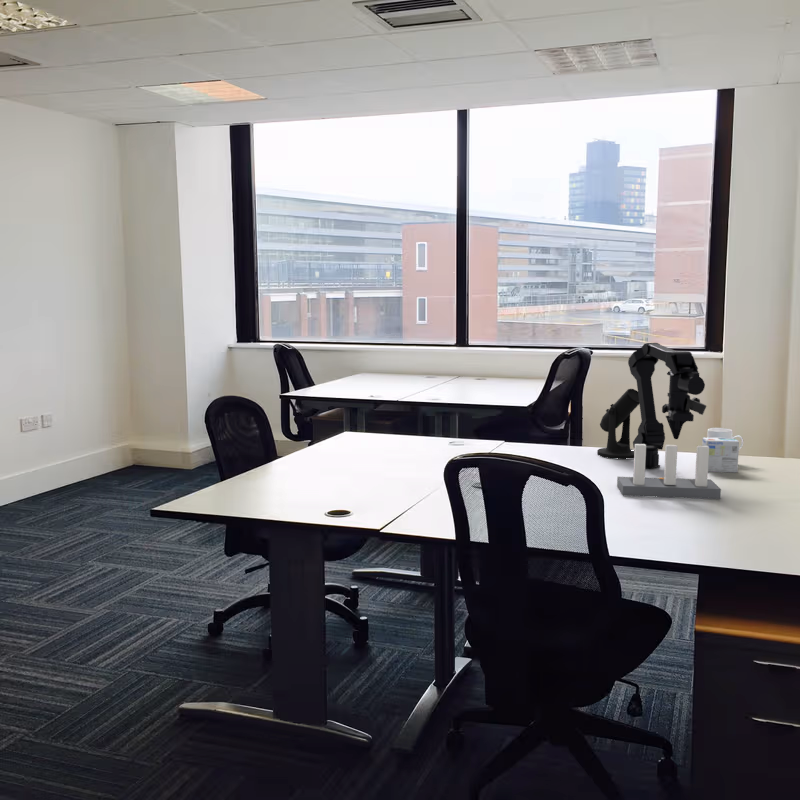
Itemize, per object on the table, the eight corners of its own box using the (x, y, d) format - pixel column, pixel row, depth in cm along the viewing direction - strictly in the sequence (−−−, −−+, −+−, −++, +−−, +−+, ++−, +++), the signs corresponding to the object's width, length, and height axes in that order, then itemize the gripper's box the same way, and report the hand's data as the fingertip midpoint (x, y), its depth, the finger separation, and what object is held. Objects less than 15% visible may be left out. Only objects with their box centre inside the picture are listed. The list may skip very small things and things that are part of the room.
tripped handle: (663, 483, 251) (665, 444, 249) (674, 483, 251) (676, 444, 249) (665, 484, 249) (667, 445, 247) (675, 484, 249) (677, 446, 247)
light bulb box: (732, 468, 286) (734, 437, 285) (738, 472, 280) (740, 441, 278) (700, 467, 287) (701, 436, 286) (705, 472, 281) (707, 440, 279)
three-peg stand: (617, 485, 261) (619, 438, 259) (710, 488, 258) (713, 440, 255) (622, 495, 249) (624, 446, 247) (720, 499, 246) (723, 448, 244)
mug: (703, 462, 296) (705, 430, 294) (708, 457, 303) (710, 426, 301) (740, 466, 290) (742, 433, 288) (743, 461, 297) (745, 429, 295)
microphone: (622, 461, 296) (625, 391, 292) (586, 453, 310) (589, 386, 307) (650, 457, 304) (654, 388, 300) (615, 449, 318) (617, 383, 315)
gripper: (712, 395, 257) (709, 445, 259) (697, 387, 275) (695, 434, 277) (674, 394, 258) (672, 444, 260) (662, 386, 276) (660, 433, 279)
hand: (676, 439), depth 269 cm, fingers closed
